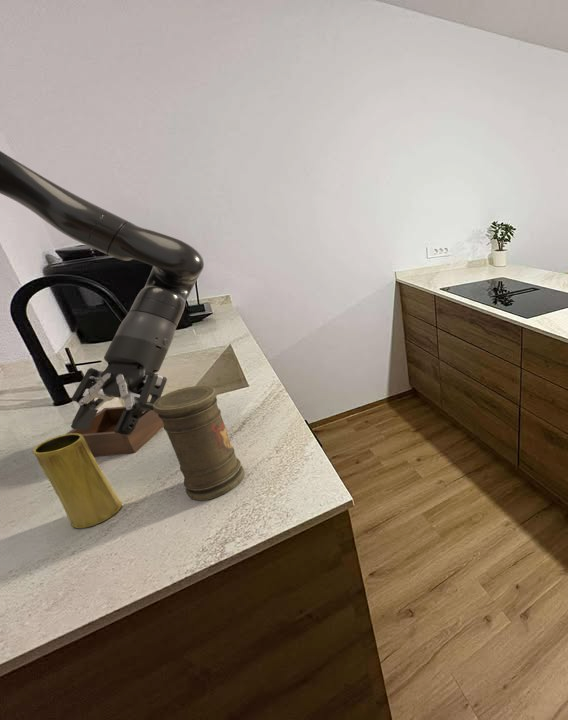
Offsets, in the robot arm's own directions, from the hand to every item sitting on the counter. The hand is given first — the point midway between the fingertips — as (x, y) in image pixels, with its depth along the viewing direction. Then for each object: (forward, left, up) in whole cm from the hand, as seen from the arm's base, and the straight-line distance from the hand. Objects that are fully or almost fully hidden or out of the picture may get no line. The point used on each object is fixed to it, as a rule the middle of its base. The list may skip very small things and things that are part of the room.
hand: (100, 432), depth 62 cm
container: (+14, 0, -13) cm, 19 cm away
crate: (-13, +18, -13) cm, 25 cm away
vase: (-2, -5, -13) cm, 14 cm away
